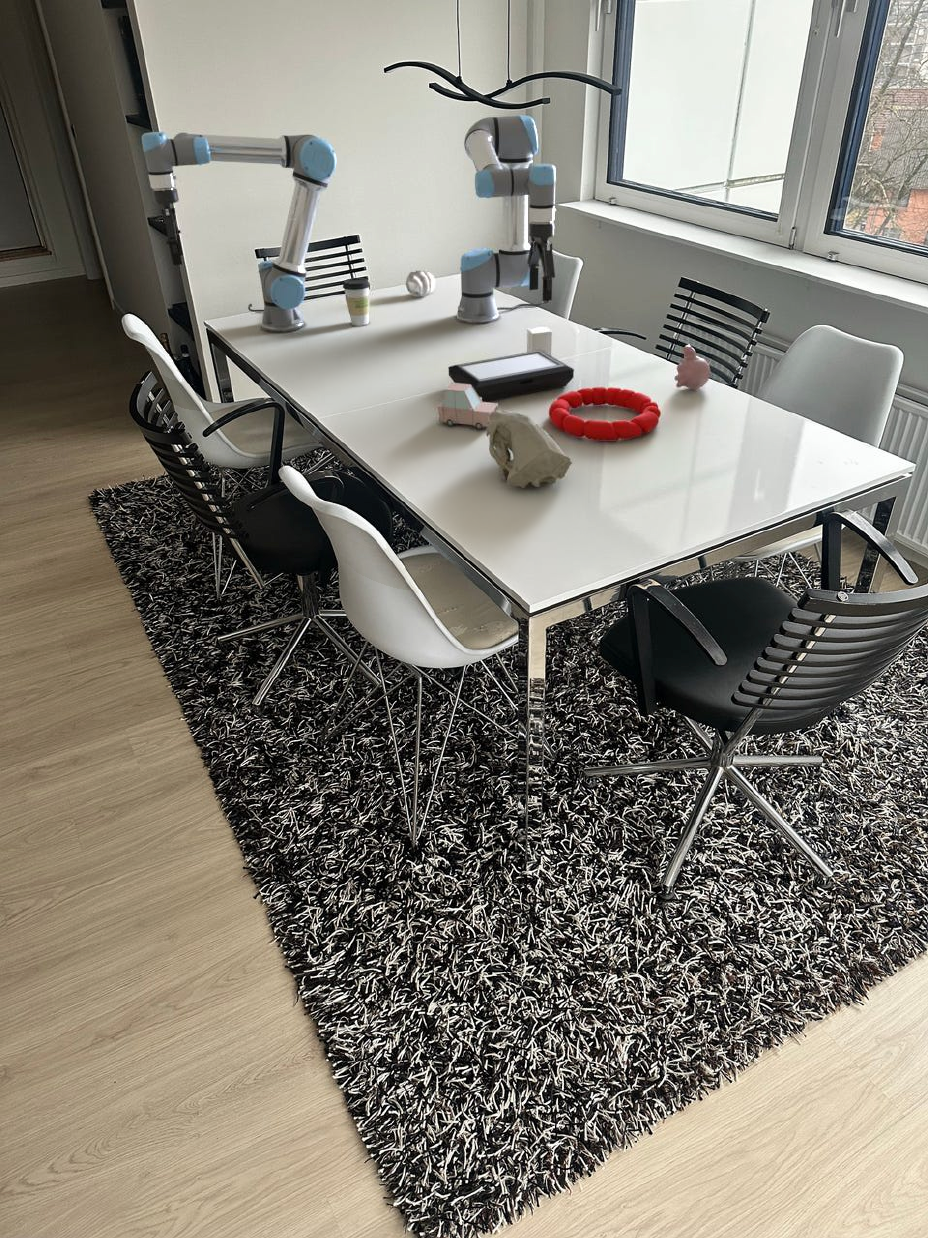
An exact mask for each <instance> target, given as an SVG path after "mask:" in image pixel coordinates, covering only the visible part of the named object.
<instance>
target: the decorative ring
mask: <svg viewBox="0 0 928 1238" xmlns="http://www.w3.org/2000/svg"><path fill="white" fill-rule="evenodd" d="M583 405H584V406H586V407H587V406H591V405H593V406H604V405H608V406H614V407H619V408H624V409H628V410H632V411H635V412H636V413H638V414H639V415H637V416H635V417H632V418H631V419H630V420H625V419H624V420H623V419H622V420H614V421H611V422H609V421H607V420H606V421H605V420H593V419H587V420H586V421H585V419H584V418H582V417H579V416H577V415H573V414H571V413H570V410H571V409H579V408H581V407H582V406H583ZM548 416H549V419H550V422H551V423H552V425H553V426H554V427H555V428H556V429H558V430H559V431H561V432H563V433H567V434H568V435H569V436H573V437H576V438H580V439H582V438H583V437H585V438H586V439H587V440H591V441H601V442H602V441H603V442H608V441H609V442H610V441H611V442H612V441H615V442H616V441H618V440H630V439H634V438H638V437H641V436H642V434H647V433H650V432H651V431H653V430H654V429H655V428H656V427H657V426H658V424H659V422H660V421H659V420H660V417H661V410H660V408H659V405H658V403H657V402H656V401H652V399H651V397H649V396H648V395H646V394H644V393H642V392H635V391H634V390H632V389H628V388H624V389H622V388H620V387H613V386H612V387H611V386H610V387H608V388H606V387H604V386H594V387H585V388H584V387H583V388H580V389H578V390H571V391H568V392H565V393H563V394H561V395H560V396H558V397H557V398H556V400H554V401H552V403H551V404H550V407H549V409H548Z"/></svg>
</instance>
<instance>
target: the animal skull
mask: <svg viewBox="0 0 928 1238" xmlns="http://www.w3.org/2000/svg"><path fill="white" fill-rule="evenodd" d="M485 436H486V438H487V437H489V438H488V440H489V444H488V445H489V446H488V450H489V454H490V456H491V457H492V458H493V459H494V460H495V462H496V464H497V466H499V468H500V470H501V471H502V472H501V478H502V479H507V480H506V484H507V486H517V487H518V486H519V488H523V489H524V488H526V486H527V485H529V483H531V485H533V486H534V487H536V488H540V485H541V484H542V482H544V483H549V484H550V485H553V484H555V483H556V482H557V480H561V479H563V478H565V476H566V474H567V472H568V471H569V469H570V467H571V466H572V464H573V462H572V461H571V458H570V457H568V456H567V455H565V453H564V451H562V449H561V448H560V446H559V444H557V443H556V439H555V438H554V436H553V435H551V434H550V433H548V432H547V431H546V430H545V429H544V428H542V427H541V426H539V425H538V424H537V423H536V424H535V422H534V421H533V419H532V418H531V417H530V416H529V415H527V414H524V413H519V412H515V411H509V410H507V409H502V410H500V411H499V410H497V411H496V412H492V413H491V414H490V422H488V423H487V427H486V435H485ZM511 453H512V454H511ZM511 455H512V457H513V458H512V460H511ZM507 474H508V475H507Z"/></svg>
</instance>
